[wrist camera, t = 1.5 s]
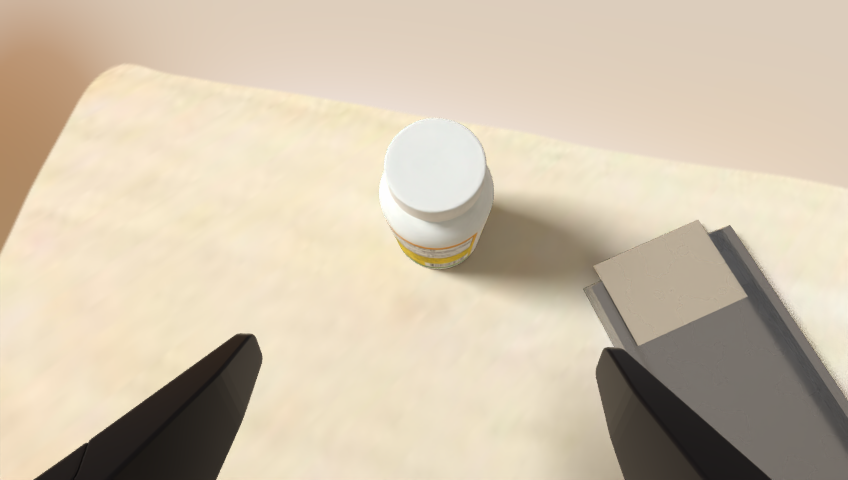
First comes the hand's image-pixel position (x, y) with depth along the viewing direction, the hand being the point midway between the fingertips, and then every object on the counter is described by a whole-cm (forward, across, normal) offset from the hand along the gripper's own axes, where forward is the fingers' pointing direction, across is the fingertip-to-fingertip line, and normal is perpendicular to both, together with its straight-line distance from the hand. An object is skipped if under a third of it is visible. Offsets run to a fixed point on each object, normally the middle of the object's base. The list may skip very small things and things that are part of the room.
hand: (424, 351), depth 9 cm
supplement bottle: (+14, 0, +4) cm, 14 cm away
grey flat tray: (+8, -16, +10) cm, 20 cm away
